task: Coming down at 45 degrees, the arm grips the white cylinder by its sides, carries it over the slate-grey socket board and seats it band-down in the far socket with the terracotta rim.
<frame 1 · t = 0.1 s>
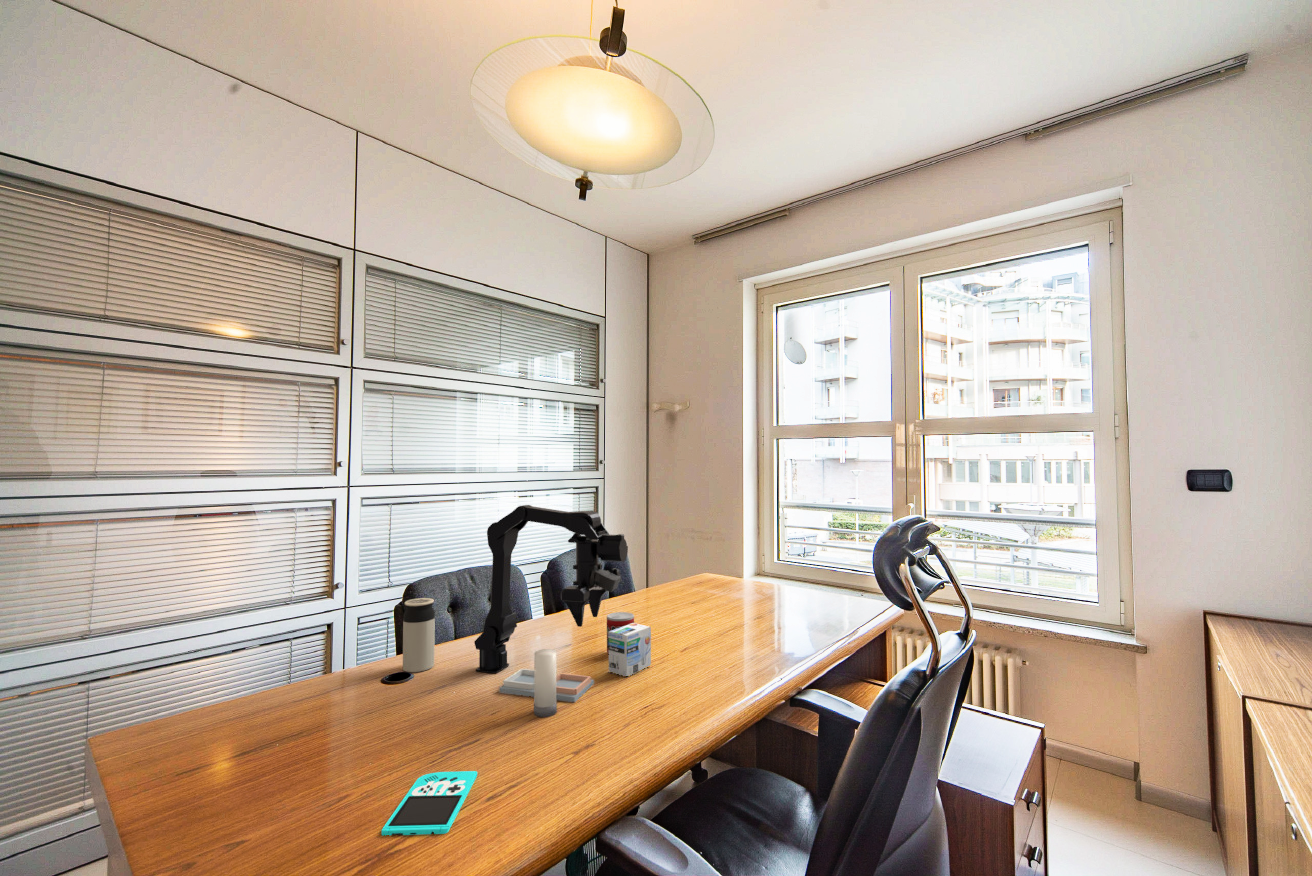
hand: (587, 621, 143), 15 cm above the table, tool pointing down, fingers open, 9 cm apart
socket board: (547, 688, 137), on the table
travel mug: (418, 668, 152), on the table
canned food: (620, 654, 162), on the table
white cylinder: (545, 712, 123), on the table
light bulb box: (630, 670, 149), on the table
handheld game console: (434, 806, 90), on the table
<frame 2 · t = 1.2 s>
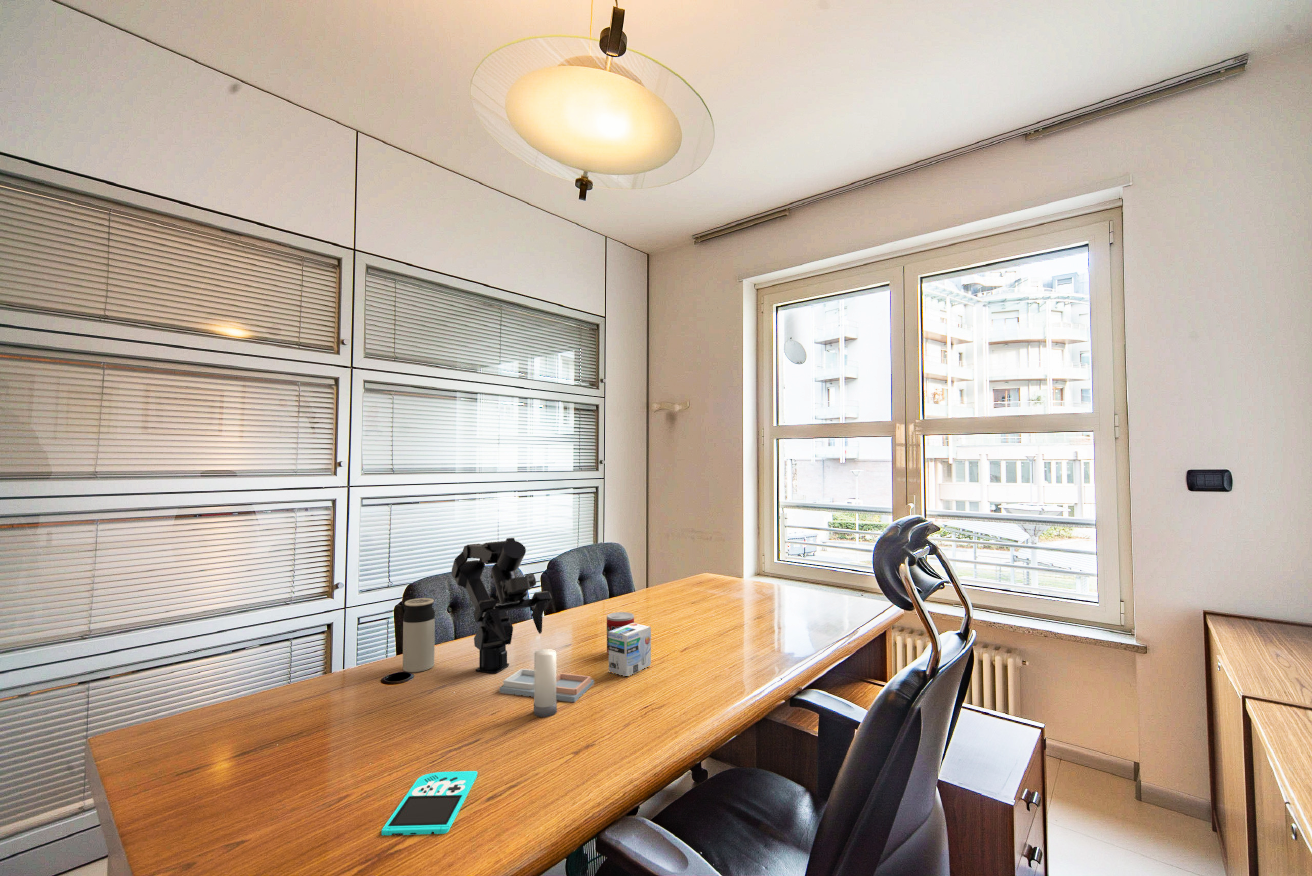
hand: (523, 636, 135), 13 cm above the table, tool tilted 45°, fingers open, 9 cm apart
nothing on the table moved.
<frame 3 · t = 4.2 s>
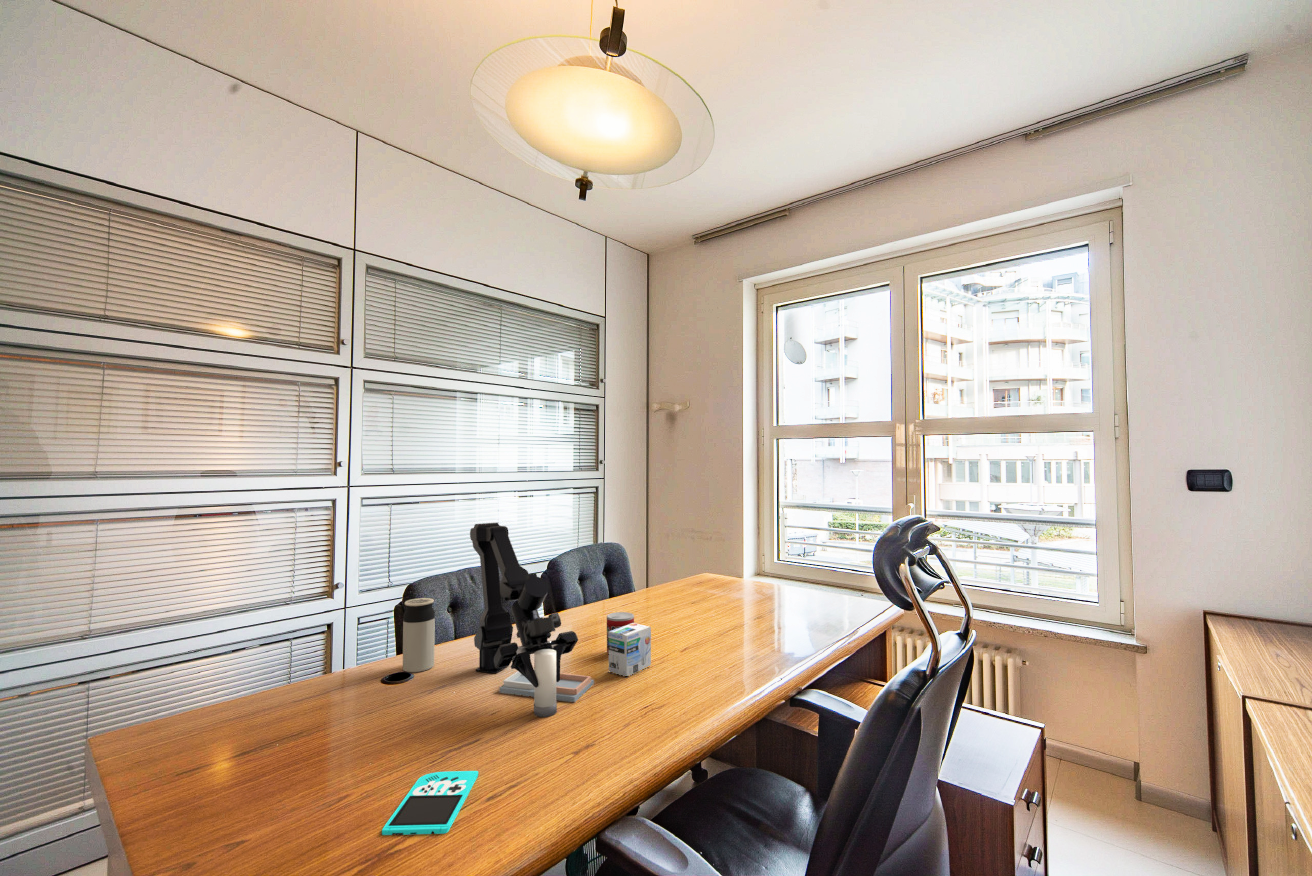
hand: (548, 683, 123), 7 cm above the table, tool tilted 45°, fingers closed on white cylinder, 5 cm apart
white cylinder: (545, 712, 123), on the table, touching gripper
everything else where it was.
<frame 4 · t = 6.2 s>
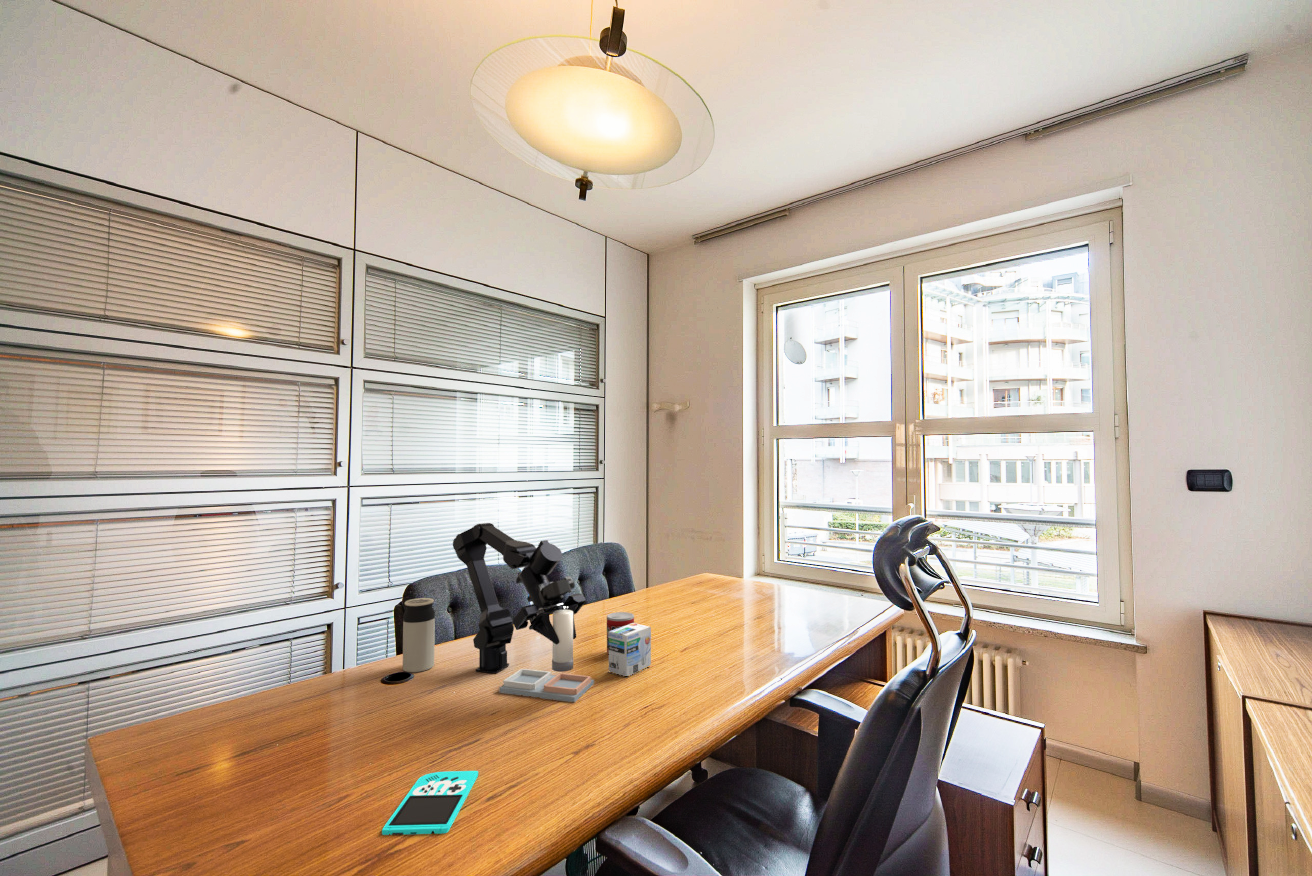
hand: (566, 640, 131), 13 cm above the table, tool tilted 45°, fingers closed on white cylinder, 5 cm apart
white cylinder: (562, 667, 132), point 7 cm above the table, touching gripper
everything else where it was.
when the fingers open (9 cm above the table, at t = 7.8 s): white cylinder drops 2 cm, resting on socket board.
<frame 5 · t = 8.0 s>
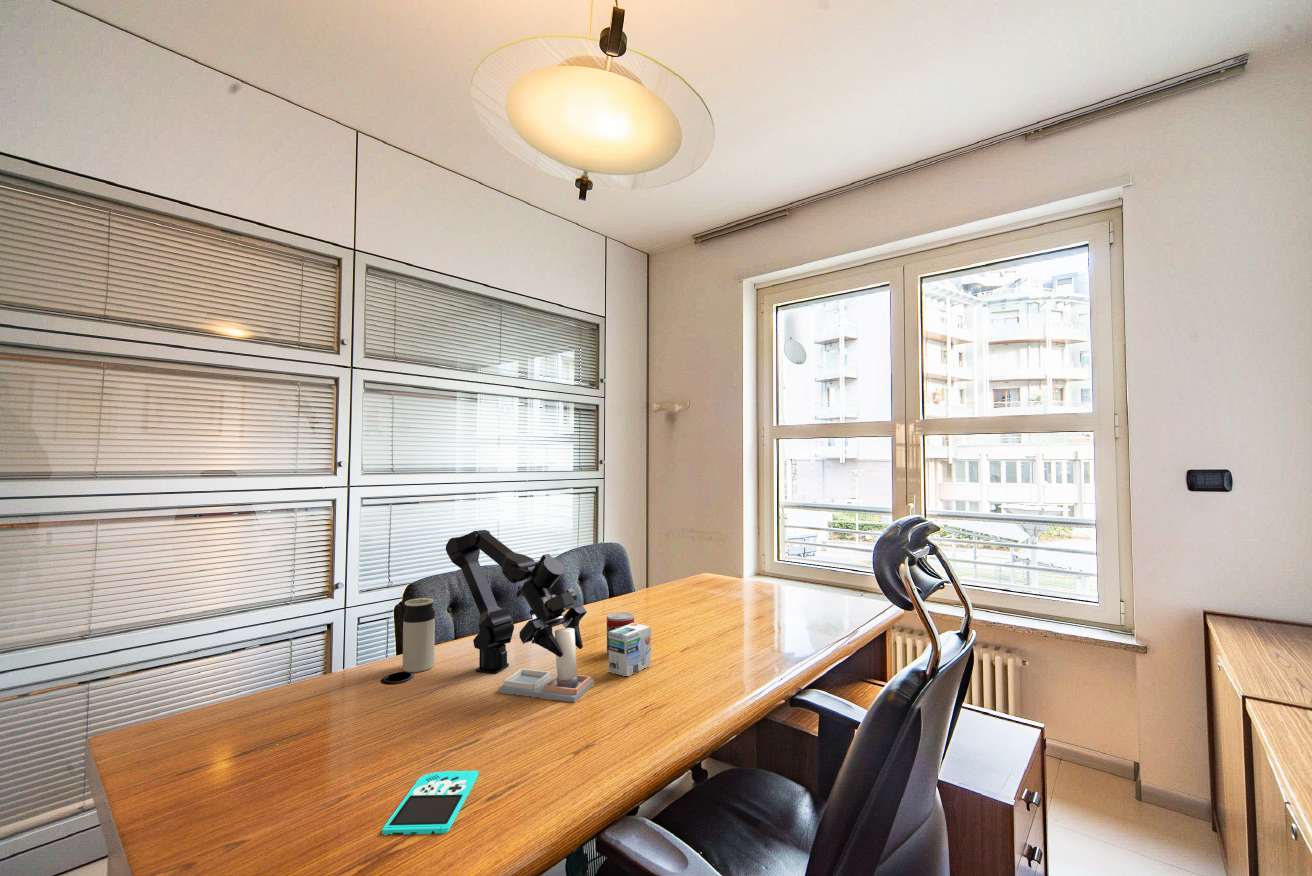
hand: (571, 652, 135), 10 cm above the table, tool tilted 45°, fingers open, 7 cm apart
white cylinder: (567, 685, 135), point 1 cm above the table, touching socket board
everything else where it was.
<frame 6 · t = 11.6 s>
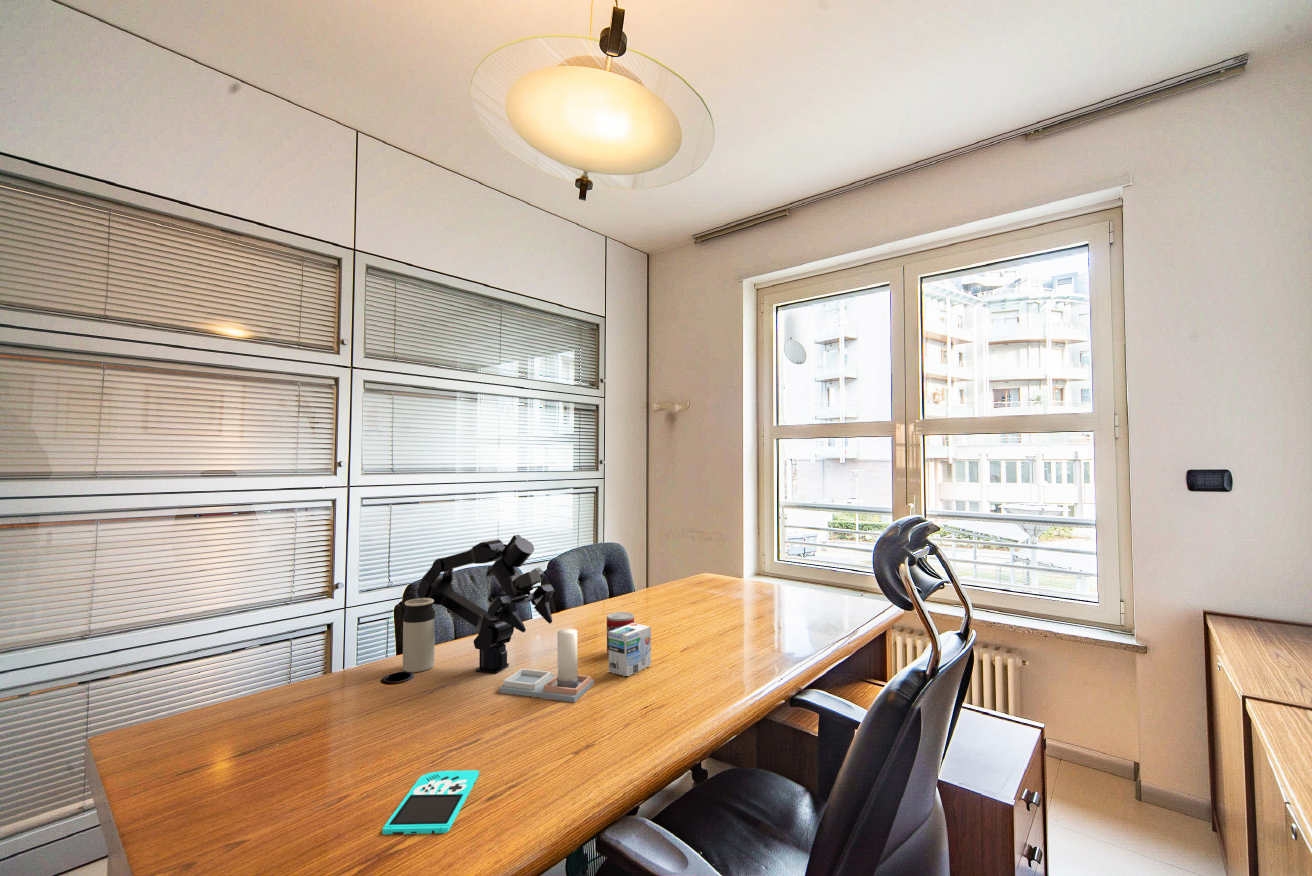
hand: (538, 626, 142), 14 cm above the table, tool tilted 45°, fingers open, 9 cm apart
at the end: white cylinder 0.0 cm from the target spot, point 1.2 cm above the table; white cylinder tilted 0°; the gripper is holding nothing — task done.
